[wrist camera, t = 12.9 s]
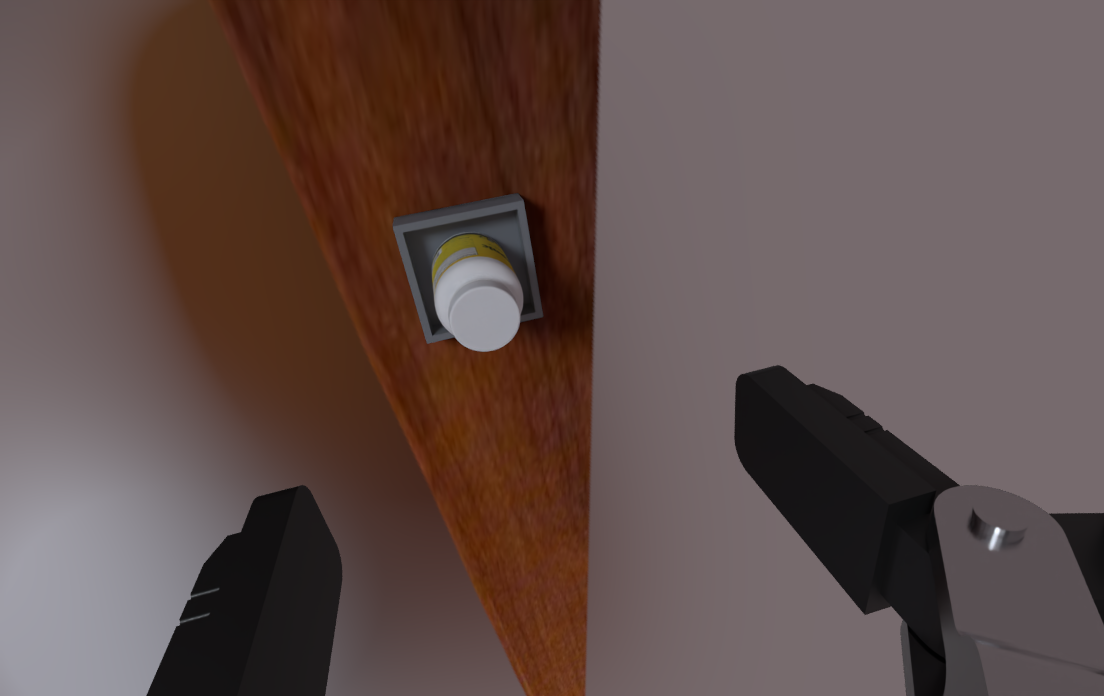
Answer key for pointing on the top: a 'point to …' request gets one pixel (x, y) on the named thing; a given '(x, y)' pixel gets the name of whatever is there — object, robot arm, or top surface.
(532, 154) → the top surface
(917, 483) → the robot arm
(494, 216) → the tray
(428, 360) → the top surface
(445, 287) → the supplement bottle
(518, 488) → the top surface
